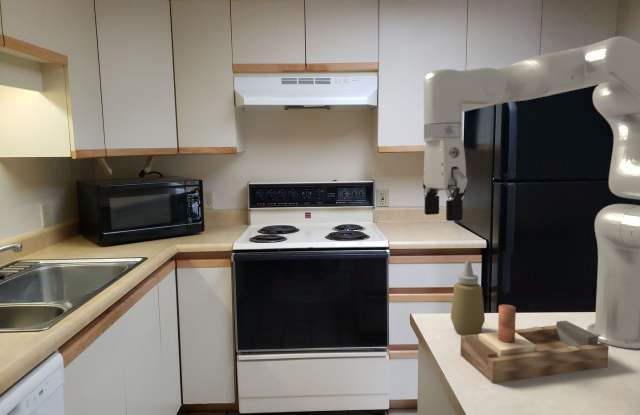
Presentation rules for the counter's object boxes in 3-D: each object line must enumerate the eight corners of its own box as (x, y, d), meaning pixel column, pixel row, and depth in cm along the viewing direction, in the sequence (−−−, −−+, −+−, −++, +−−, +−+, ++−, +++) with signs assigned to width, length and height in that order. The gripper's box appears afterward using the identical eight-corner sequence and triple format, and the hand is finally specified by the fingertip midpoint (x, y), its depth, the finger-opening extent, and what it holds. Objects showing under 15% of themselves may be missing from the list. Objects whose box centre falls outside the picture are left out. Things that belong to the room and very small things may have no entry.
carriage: (511, 344, 93) (512, 299, 92) (536, 360, 86) (537, 312, 85) (478, 348, 92) (478, 302, 91) (500, 365, 84) (501, 316, 83)
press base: (563, 342, 98) (564, 317, 98) (607, 366, 87) (608, 338, 86) (460, 355, 94) (460, 329, 93) (492, 383, 82) (493, 353, 81)
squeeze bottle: (487, 339, 101) (488, 266, 99) (452, 337, 103) (452, 265, 101) (481, 326, 109) (482, 257, 107) (449, 324, 111) (449, 257, 109)
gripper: (483, 130, 78) (482, 222, 80) (439, 135, 95) (439, 211, 97) (446, 131, 77) (445, 224, 79) (408, 136, 94) (408, 213, 96)
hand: (442, 217), depth 88 cm, fingers open, 9 cm apart
